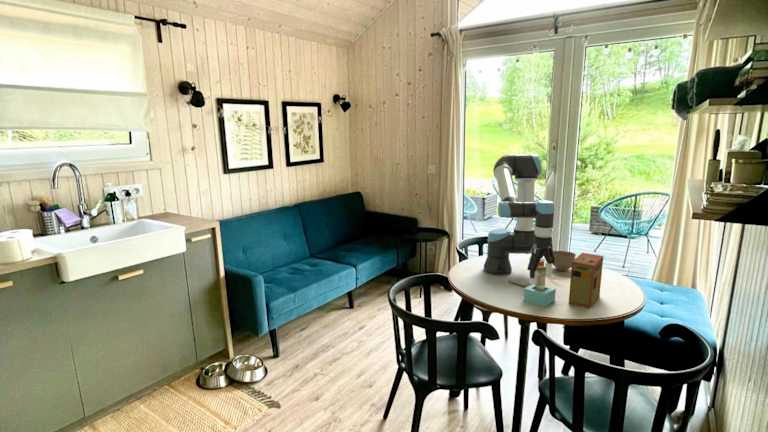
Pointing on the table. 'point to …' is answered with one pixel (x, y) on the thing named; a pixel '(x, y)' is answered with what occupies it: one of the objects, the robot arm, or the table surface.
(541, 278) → the wooden dowel roller
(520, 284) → the brown wooden stick
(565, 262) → the bowl
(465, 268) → the table surface
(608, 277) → the table surface
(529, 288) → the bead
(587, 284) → the box
